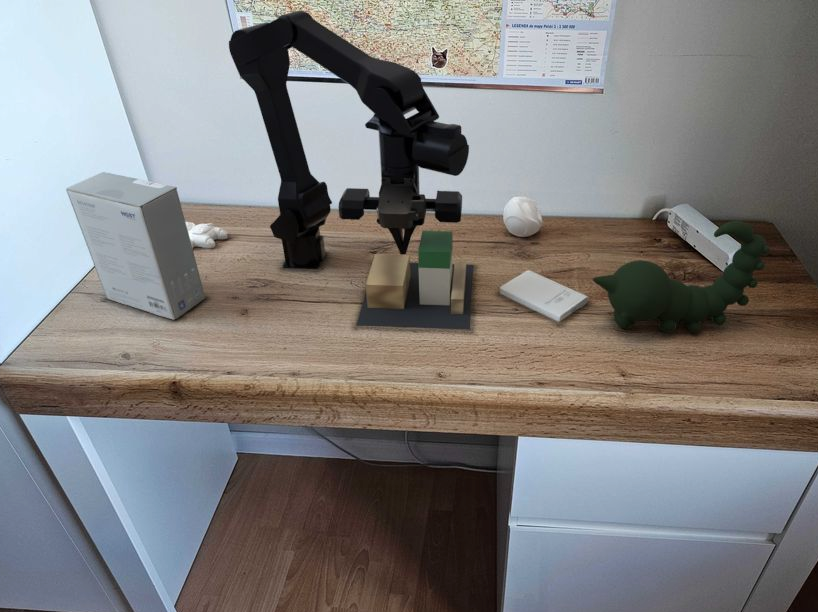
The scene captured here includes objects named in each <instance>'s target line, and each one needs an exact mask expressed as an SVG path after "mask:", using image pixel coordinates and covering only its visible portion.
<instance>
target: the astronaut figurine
mask: <svg viewBox="0 0 818 612" xmlns="http://www.w3.org/2000/svg"><path fill="white" fill-rule="evenodd" d="M185 222H186V226H187V230H188V234H189V237H190V241H191V245H192V249H193V250H194V248H195V247H199V248H204V249H214V248H215V247H216V242H215V240H227V239H228V236H229V235H228V233H227V231H226V230H225V229H223V228H222V227H218V226H215V223H213V222H208V223H199V224H195V223H194V222H190V221H185Z"/></svg>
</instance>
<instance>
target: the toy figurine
mask: <svg viewBox="0 0 818 612" xmlns="http://www.w3.org/2000/svg"><path fill="white" fill-rule="evenodd" d="M724 235H731V236H733V237H735V238H736V239H737V240H739V241H740V242H741V243H740V248H738V249H737V250H736V251H735V252H734V254H733V255H732V258H731V263H729V264H728V265H726V267H725V268H724V269H723V272H722V275H720V276H719V277H717V278H716V279H715V280H714V282H713V283H712V284H709V285H705V286H700V285H696V284H689V285H688V284H687V285H686V283H684V282H682V281H680V280H678V279H675V278H670V276H669V274H668V273H667V272H666V271H665V269H663V268H662V267H661V266H660V265H658V264H657V263H654V262H652V261H649V260H643V259H639V260H638V259H637V260H632V261H629V262H627V263H625V264H622V265H621V266H620V267H619V268H617V269H616V270H615V271H614V273H613V274H607V275H600V276H594V277H593V278H592V282H594V283H595V284H596V285H598V286H599V287H601V288H602V289H603V290H605V291H606V292H607V296H608V301H609V304H610V306H611V308H612V309H613V310H614V311H613V319H614V321H615V323H616V325H617V326H618V327H619V328H620V329H623V330H627V329H631V328H632V327H633V326H634V325H635V324H636V322H637V323H645V322H649V321H652V320H654V319H655V320H656V321H658V327H659V329H660V330H661V331H662V332H664V333H672V332H673V331H674V330H675V329H676V328H677V322H679V323H683V324H686V327H687V330H688V332H689V333H692V334H696V333H698V332H700V330H701V327H702V324H701V322H703V321H705V320H706V319H711V318H712V323H714V325H717V326H723V325H725V324H726V322H727V315H726V314H725V313H724V312H725V311H726V310H727V308H728V306H731V305H734V304H736V303H737V305H738V306H741V307H744V306H745V307H746V306H747V305H748V304H749V302H750V299H749V297H748V295H746V294H744V292H745V288H747V287H748V288H750V289H754V288H756V287H757V286H758V284H759V281H758V279H756V278H754V272H755V271H762V270H763V269H765V267H766V266H765V265H766V264H765V262H764V261H763V260H762V257H761V256H763V255H767V254H770V251H771V246H769V245H767V241H766V239H765V237H763V236H762V235H760V234H757V233H755V231H754V228H753V226H752V225H751V224H749V223H747V222H745V221H741V220H732V221H728V222H726V223H724V224H722V225H720V227H718V228H717V229H716V230H715V231H714V233H713V237H714V238H719V237H721V236H724Z"/></svg>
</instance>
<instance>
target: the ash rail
mask: <svg viewBox="0 0 818 612" xmlns="http://www.w3.org/2000/svg"><path fill="white" fill-rule="evenodd" d="M454 264H455V265H454V275H453V284H452V293H451V314H462V315H463V310H464V297H465V284H466V265H467V261H466V260H465V261H464V260H463V261H462V260H454Z"/></svg>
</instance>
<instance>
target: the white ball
mask: <svg viewBox="0 0 818 612" xmlns="http://www.w3.org/2000/svg"><path fill="white" fill-rule="evenodd" d="M537 205H538V201H537V200H534V199H532V198H528V197H525V196H518V195H516V196H514V197H512V198H511V199H510V200H508V202H507V203H506V204H505V206H504V208H503V214H502V220H503V223H504V226H505V228H506V230H507V231H508V232H509V233H510V234H512V235H514V236H515V237H519V238H520V237H521V238H526V237H530V236H533V235H534V234H536V233H538V232H539V231H540V229H541V227H542V226H543V224H544V221H543V217H542V213H541V212H540V210H539V208H538V207H537Z"/></svg>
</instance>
